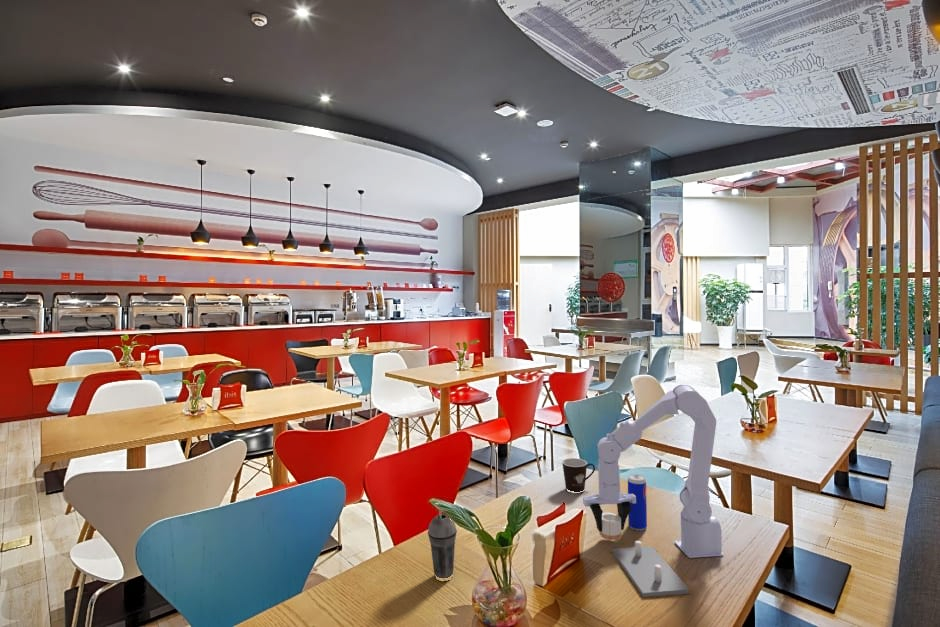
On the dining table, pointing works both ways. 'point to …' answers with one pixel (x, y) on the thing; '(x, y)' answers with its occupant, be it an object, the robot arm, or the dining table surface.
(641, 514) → the beverage can
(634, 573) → the pin board
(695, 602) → the dining table surface
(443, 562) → the beverage cup
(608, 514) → the sleeve
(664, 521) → the dining table surface
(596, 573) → the dining table surface
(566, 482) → the coffee mug
